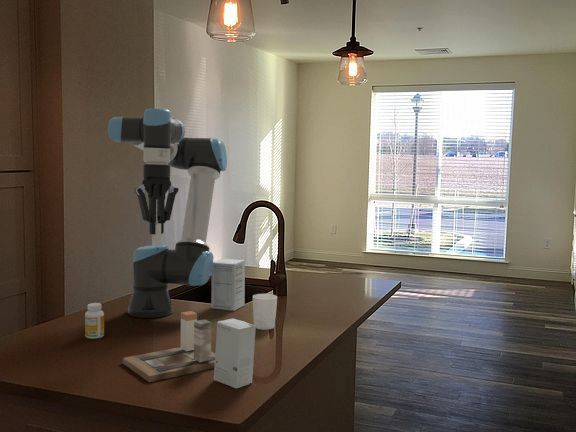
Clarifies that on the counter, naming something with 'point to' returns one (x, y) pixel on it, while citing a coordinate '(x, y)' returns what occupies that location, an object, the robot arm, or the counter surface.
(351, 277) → the counter surface
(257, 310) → the white cup
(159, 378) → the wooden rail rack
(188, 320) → the tab
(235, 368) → the skincare box
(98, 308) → the supplement bottle
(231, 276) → the supplement box
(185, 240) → the robot arm
